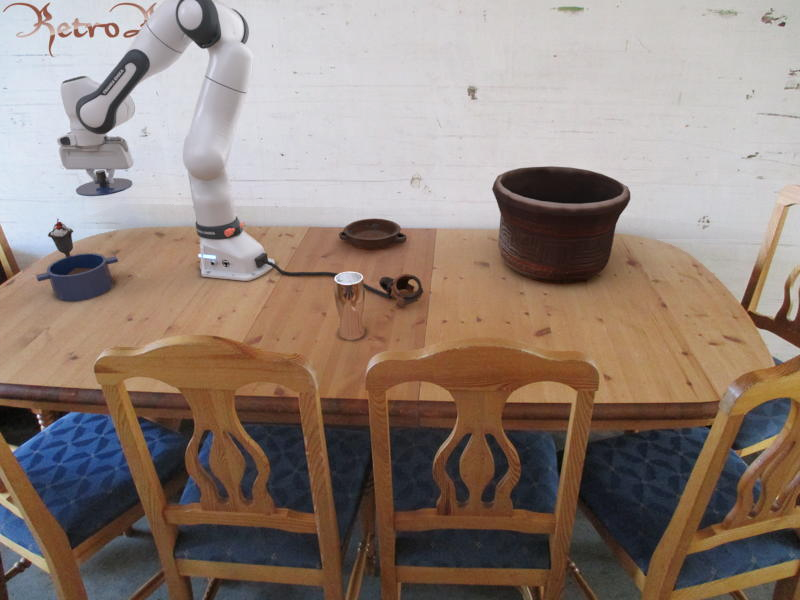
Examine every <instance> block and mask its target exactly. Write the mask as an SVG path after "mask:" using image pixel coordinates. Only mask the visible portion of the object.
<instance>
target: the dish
mask: <svg viewBox="0 0 800 600" xmlns="http://www.w3.org/2000/svg"><path fill="white" fill-rule="evenodd" d="M401 231H402V227H401V226H400V225H399V224H398V223H397V222H395V221H393V220H389V219H384V218H375V217H373V218H363V219H359V220H355V221H353V222H350V223H349V224H347V225H346V226H345V227H344V228H343V230H342V231H340V232H339V233H338V238H339V239H340V240H341V241H345V242H346V241H347V242H349V243H351V245H352V246H354V247H356V248H360V249H365V250H379V249H385V248H389V247H391V246H393V245H394V244H401V243H406V242H407V234H405V233H403V232H401Z"/></svg>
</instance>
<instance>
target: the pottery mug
mask: <svg viewBox="0 0 800 600" xmlns="http://www.w3.org/2000/svg"><path fill="white" fill-rule="evenodd" d="M411 280H413V281H415V282H416V284H417V287H418V288H417V290H416V291H415V292H414V289H415V286H414V285H413V284H410V283H409V282H410V281H411ZM378 283H379V286H380V288H381V289H383V290H384V291H385V293H387V294H388V295H391V294H393V296H394V297H395V298H396V299H397V300H396V303H395V305H396V307H397V308H400V309H401V308H403V307H404V306H405V307H406V306H409V305H412V304H414V303H416V302H418V301H419V299H421V297H422V296H423V293H424V289H423V286H422V282H421V280H420V278H418V277H417V276H416V275H414V274H409V273H403V274H402V273H401V274H400V275H398V276H396V277H395V278H393V277H390V276H382V277H381V278H380V280H379V282H378ZM401 291H409V292H410V293H411V294H406V293H404V294H403V296H402V295H401Z"/></svg>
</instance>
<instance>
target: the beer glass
mask: <svg viewBox="0 0 800 600" xmlns="http://www.w3.org/2000/svg"><path fill="white" fill-rule="evenodd" d="M333 281H334V283H333V284H334V285H333V291H334V303H335V306H336V310H337V313H338V317H339V331H338V333H339V334H338V335H339V336H340V337H341V338H342V339H344V340H347V341H354V340H355V341H356V340H359V339H361V338H363V336H364V335H365V332H366V331H365V327H364V323H363V314H364V307H365V299H366V298H365V297H366V295H365V294H366V293H365V292H366V291H365V288H364V284H365V282H364V276H363V275H362V274H361V273H359V272H356V271H344V272H340V273H339V274H338V275H336V276H334V278H333Z"/></svg>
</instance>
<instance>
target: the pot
mask: <svg viewBox="0 0 800 600" xmlns="http://www.w3.org/2000/svg"><path fill="white" fill-rule="evenodd" d="M118 262H119V259H118V257H117V256H116V255H114V256H110V257H106V256H105V255H103V254H100V253H94V252H93V253H91V252H87V253H78V254H73V255H70V256H68V257H66V256H65V257H63V258H60V259H58V260H56V261H54V262H52V263H50V265H48V267H47V268H46V272H43V273H39V274H35V277H36V280H37V282H38V283H39V282H42V281H46V280H49V283H50V285H51V288H52V291H53V294H54V295H55V297H56V299H58V300H59V301H64V302H81V301H85V300H90V299H94V298H97V297H99V296H102V295H103V294H106V293H107V292H108V291H109V290H111V288H112V287H113V285H114V281H113V277H112V273H111V269H110V266H109V265H111V264H112V265H113V264H117V263H118ZM75 268H94V269H92V270H89V271H87V272H84V273H79V274H74V275H67V274H69V273H70V272H71V271H72V270H74V269H75Z"/></svg>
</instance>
